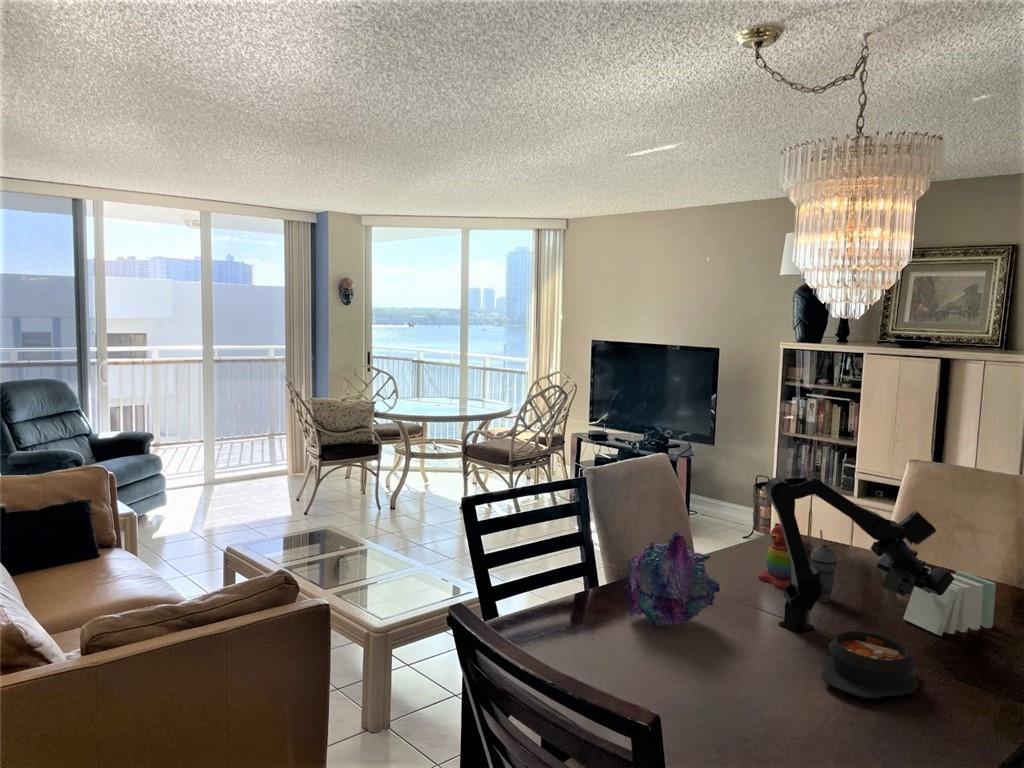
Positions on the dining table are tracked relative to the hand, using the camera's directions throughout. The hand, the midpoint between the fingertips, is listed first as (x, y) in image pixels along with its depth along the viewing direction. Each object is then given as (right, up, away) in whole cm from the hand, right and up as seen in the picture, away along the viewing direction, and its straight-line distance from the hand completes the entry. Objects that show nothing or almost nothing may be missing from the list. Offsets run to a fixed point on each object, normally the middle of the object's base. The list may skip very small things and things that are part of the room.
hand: (929, 591), depth 184 cm
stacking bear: (-26, -7, +33) cm, 43 cm away
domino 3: (+7, -10, +3) cm, 12 cm away
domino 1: (-2, -9, 0) cm, 9 cm away
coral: (-68, -9, 0) cm, 68 cm away
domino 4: (+11, -10, +5) cm, 15 cm away
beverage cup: (-20, -8, +20) cm, 29 cm away
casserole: (-30, -12, -29) cm, 43 cm away
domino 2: (+2, -10, +2) cm, 10 cm away
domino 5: (+15, -10, +6) cm, 19 cm away
